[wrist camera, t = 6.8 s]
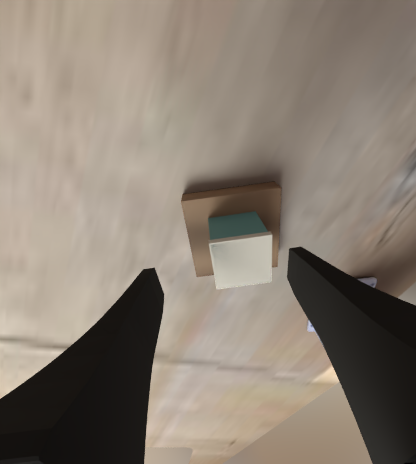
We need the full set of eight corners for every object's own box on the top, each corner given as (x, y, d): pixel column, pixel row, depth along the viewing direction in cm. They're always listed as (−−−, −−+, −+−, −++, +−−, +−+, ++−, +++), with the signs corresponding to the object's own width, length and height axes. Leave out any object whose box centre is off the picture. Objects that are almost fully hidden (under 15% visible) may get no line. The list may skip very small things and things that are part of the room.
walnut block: (270, 254, 24) (277, 266, 22) (197, 263, 25) (196, 277, 22) (272, 180, 20) (281, 187, 18) (182, 193, 20) (181, 201, 18)
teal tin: (257, 251, 21) (271, 282, 17) (213, 257, 21) (216, 289, 17) (256, 210, 19) (272, 234, 15) (206, 217, 19) (208, 243, 15)
